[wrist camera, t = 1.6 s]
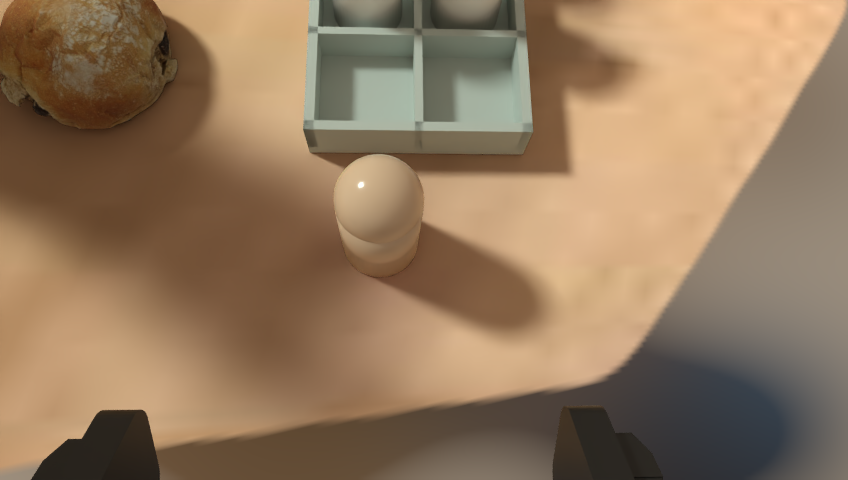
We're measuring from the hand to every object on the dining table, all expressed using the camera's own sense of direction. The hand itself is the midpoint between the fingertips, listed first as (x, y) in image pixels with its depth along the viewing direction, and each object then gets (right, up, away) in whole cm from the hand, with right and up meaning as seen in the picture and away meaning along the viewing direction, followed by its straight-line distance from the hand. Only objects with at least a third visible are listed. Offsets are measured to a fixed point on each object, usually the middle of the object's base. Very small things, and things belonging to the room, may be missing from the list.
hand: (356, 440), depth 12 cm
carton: (+1, +19, +32) cm, 37 cm away
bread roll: (-20, +15, +30) cm, 39 cm away
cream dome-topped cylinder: (-1, +4, +27) cm, 27 cm away
